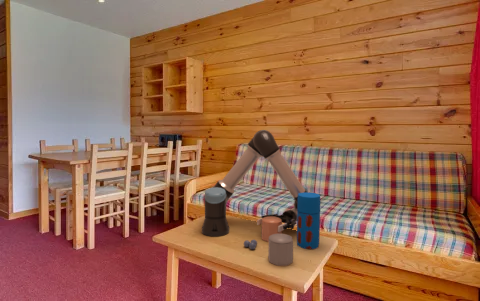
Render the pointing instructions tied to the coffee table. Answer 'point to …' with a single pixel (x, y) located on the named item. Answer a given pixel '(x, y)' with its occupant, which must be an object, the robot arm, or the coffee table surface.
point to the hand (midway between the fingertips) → (267, 225)
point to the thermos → (308, 220)
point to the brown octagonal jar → (280, 249)
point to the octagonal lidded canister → (270, 227)
